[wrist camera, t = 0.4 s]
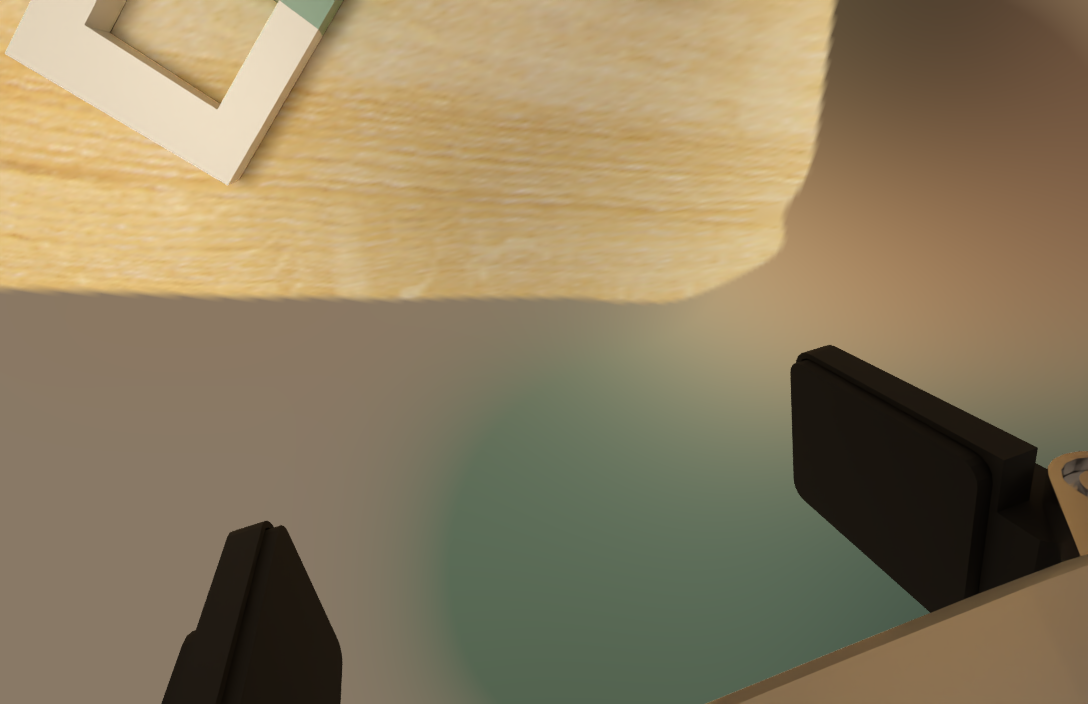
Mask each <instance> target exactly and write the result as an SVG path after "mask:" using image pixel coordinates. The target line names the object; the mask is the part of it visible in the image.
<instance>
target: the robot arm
mask: <svg viewBox="0 0 1088 704" xmlns="http://www.w3.org/2000/svg"><path fill="white" fill-rule="evenodd" d="M791 405H792V437H793V471H794V484H795V487H796V489H797V491H798V493H799V495H800V496H801V497H802V498H803V499H804V501H806V502H807V503H808V504H809V505H810V506H811V507H812V508H813V509H815V510H816V511H817V512H818V513H819V514H820V515H821V516H822V517H824V518H825V519H826V520H827V521H828V522H829V523H830V524H831V525H833V526H834V527H835V528H836V529H837V530H838V531H839V532H840V533H842V534H843V535H844V536H845V537H846V538H847V539H848V540H849V541H850V542H852V543H853V544H854V545H855V546H856V547H857V548H858V549H859V550H861V551H862V552H863V553H864V554H865V555H866V556H867V557H868V558H870V559H871V560H872V561H873V562H874V563H875V564H876V565H878V566H879V567H880V568H881V569H882V570H883V571H884V572H885V573H887V574H888V575H889V576H890V577H891V578H892V579H893V580H894V581H896V582H897V583H898V584H899V585H900V586H901V587H902V588H903V589H904V590H906V591H907V592H908V593H909V594H910V595H911V596H913V598H915V599H916V600H917V601H918V602H919V603H920V604H921V605H923V606H924V607H925V608H926V609H927V610H928V611H929V612H930V613H929V614H927V615H924V616H922V617H919V618H917V619H914V620H912V621H909V622H907V623H904V624H902V625H899V626H897V627H894V628H892V629H889V630H887V631H884V632H882V633H879V634H877V635H874V636H872V637H869V638H867V639H864V640H862V641H859V642H857V643H854V644H852V645H849V646H847V647H844V648H842V649H839V650H837V651H834V652H832V653H829V654H827V655H824V656H822V657H820V658H817V659H815V660H812V661H809V662H807V663H805V664H802V665H800V666H797V667H795V668H792V669H790V670H787V671H785V672H782V673H780V674H777V675H775V676H773V677H770V678H768V679H765V680H763V681H760V682H758V683H755V684H753V685H750V686H748V687H746V688H743V689H741V690H738V691H736V692H733V693H731V694H728V695H726V696H723V697H721V698H719V699H716V700H714V701H711V702H709V703H706V704H1088V451H1078V452H1072V453H1067V454H1063V455H1061V456H1059V457H1057V458H1055V459H1053V460H1052V462H1051V463H1050V464H1049V466H1048V469H1046V468H1044V467H1042V466H1040V465H1038V464H1036V463H1035V462H1036V456H1037V449H1038V448H1037V447H1035V446H1033V445H1031V444H1029V443H1027V442H1025V441H1023V440H1021V439H1019V438H1017V437H1015V436H1013V435H1011V434H1009V433H1007V432H1005V431H1003V430H1001V429H999V428H997V427H995V426H993V425H991V424H989V423H987V422H985V421H983V420H981V419H979V418H977V417H975V416H973V415H971V414H969V413H967V412H965V411H963V410H961V409H959V408H957V407H955V406H953V405H951V404H949V403H947V402H945V401H943V400H941V399H939V398H937V397H935V396H933V395H931V394H929V393H927V392H925V391H923V390H921V389H919V388H917V387H915V386H913V385H911V384H909V383H907V382H905V381H903V380H901V379H899V378H897V377H895V376H893V375H891V374H889V373H887V372H885V371H883V370H881V369H879V368H877V367H875V366H873V365H871V364H869V363H867V362H865V361H863V360H861V359H859V358H857V357H855V356H853V355H851V354H849V353H847V352H845V351H843V350H841V349H839V348H837V347H835V346H832V345H827V346H823V347H820V348H817V349H814V350H811V351H807V352H804V353H801V354H800V355H799V356H798V358H797V360H796V363H795V364H793V365H792V367H791ZM341 679H342V653H341V648H340V645H339V642H338V639H337V637H336V635H335V633H334V631H333V628H332V626H331V624H330V622H329V620H328V618H327V615H326V613H325V611H324V609H323V607H322V604H321V603H320V600H319V598H318V596H317V594H316V592H315V589H314V587H313V585H312V583H311V581H310V579H309V576H308V574H307V572H306V570H305V568H304V566H303V564H302V561H301V559H300V557H299V555H298V553H297V550H296V548H295V546H294V544H293V542H292V540H291V538H290V536H289V533H288V531H287V529H286V528H285V527H284V526H282V525H281V526H278V527H273V525H272V524H271V523H270V522H269V521H264V522H261V523H257V524H254V525H251V526H248V527H245V528H241V529H239V530H236V531H232V532H230V533H229V535H228V537H227V540H226V543H225V546H224V549H223V551H222V554H221V557H220V560H219V563H218V566H217V569H216V572H215V575H214V578H213V582H212V584H211V587H210V590H209V593H208V596H207V599H206V602H205V605H204V608H203V611H202V614H201V617H200V620H199V623H198V625H197V628H196V630H195V631H192V632H191V633H190V634H189V635H188V636H187V637H186V639H185V641H184V643H183V645H182V647H181V650H180V653H179V656H178V659H177V661H176V664H175V667H174V670H173V673H172V676H171V678H170V681H169V684H168V687H167V690H166V692H165V695H164V698H163V701H162V704H340V700H341V681H342V680H341Z"/></svg>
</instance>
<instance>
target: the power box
mask: <svg viewBox="0 0 1088 704" xmlns="http://www.w3.org/2000/svg"><path fill="white" fill-rule="evenodd" d="M126 1H127V0H31V1H30V3H29V5H28V7H27V9H26V11H25V13H24V15H23V17H22V19H21V21H20V23H19V25H18V27H17V29H16V31H15V33H14V35H13V37H12V39H11V41H10V43H9V46H8V48H7V50H6V52H5V54H6V55H8V56H9V57H11V58H13V59H14V60H16V61H18V62H20V63H21V64H23V65H25V66H26V67H28V68H30V69H31V70H33V71H35V72H36V73H38V74H40V75H42V76H43V77H45V78H47V79H48V80H50V81H52V82H53V83H55V84H57V85H58V86H60V87H62V88H63V89H65V90H67V91H69V92H70V93H72V94H74V95H75V96H77V97H79V98H80V99H82V100H84V101H85V102H87V103H89V104H91V105H92V106H94V107H96V108H97V109H99V110H101V111H102V112H104V113H106V114H107V115H109V116H111V117H113V118H114V119H116V120H118V121H119V122H121V123H123V124H124V125H126V126H128V127H129V128H131V129H133V130H135V131H136V132H138V133H140V134H141V135H143V136H145V137H146V138H148V139H150V140H151V141H153V142H155V143H157V144H158V145H160V146H162V147H163V148H165V149H167V150H168V151H170V152H172V153H173V154H175V155H177V156H178V157H180V158H182V159H184V160H185V161H187V162H189V163H190V164H192V165H194V166H195V167H197V168H199V169H200V170H202V171H204V172H206V173H207V174H209V175H211V176H212V177H214V178H216V179H217V180H219V181H221V182H222V183H224V184H226V185H230V184H232V183H234V182H236V181H238V180H239V179H240V177H241V176H242V174H243V172H244V170H245V169H246V167H247V165H248V164H249V162H250V160H251V158H252V157H253V155H254V153H255V151H256V150H257V148H258V146H259V145H260V143H261V141H262V139H263V138H264V136H265V134H266V133H267V131H268V129H269V127H270V126H271V124H272V122H273V121H274V119H275V117H276V115H277V114H278V112H279V110H280V109H281V107H282V105H283V103H284V102H285V100H286V98H287V97H288V95H289V93H290V91H291V90H292V88H293V86H294V85H295V83H296V81H297V79H298V78H299V76H300V74H301V72H302V71H303V69H304V67H305V66H306V64H307V62H308V60H309V59H310V57H311V55H312V54H313V52H314V50H315V48H316V47H317V45H318V43H319V42H320V40H321V38H322V36H323V35H324V33H325V31H326V30H327V28H328V26H329V24H330V23H331V21H332V19H333V18H334V16H335V14H336V12H337V11H338V9H339V7H340V6H341V4H342V2H343V0H274V1H276V2H277V5H276V7H275V8H274V10H273V12H272V14H271V15H270V17H269V19H268V21H267V23H266V24H265V26H264V28H263V30H262V31H261V33H260V35H259V37H258V39H257V40H256V42H255V44H254V46H253V47H252V49H251V51H250V53H249V54H248V56H247V58H246V60H245V62H244V63H243V65H242V67H241V69H240V70H239V72H238V74H237V76H236V78H235V79H234V81H233V83H232V85H231V86H230V88H229V90H228V92H227V93H226V95H225V97H224V99H223V101H222V102H221V104H220V103H218V102H217V101H215V100H214V99H212V98H210V97H209V96H207V95H206V94H204V93H203V92H201V91H200V90H198V89H196V88H195V87H193V86H192V85H190V84H189V83H187V82H186V81H184V80H182V79H181V78H179V77H178V76H176V75H175V74H173V73H172V72H170V71H168V70H167V69H165V68H164V67H162V66H161V65H159V64H158V63H156V62H155V61H153V60H151V59H150V58H148V57H147V56H145V55H144V54H142V53H141V52H139V51H137V50H136V49H134V48H133V47H131V46H130V45H128V44H127V43H125V42H123V41H122V40H120V39H119V38H117V37H116V36H114V35H113V34H111V33H110V31H111V30H112V28H113V26H114V24H115V22H116V20H117V18H118V16H119V14H120V12H121V10H122V8H123V7H124V5H125V3H126Z"/></svg>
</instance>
